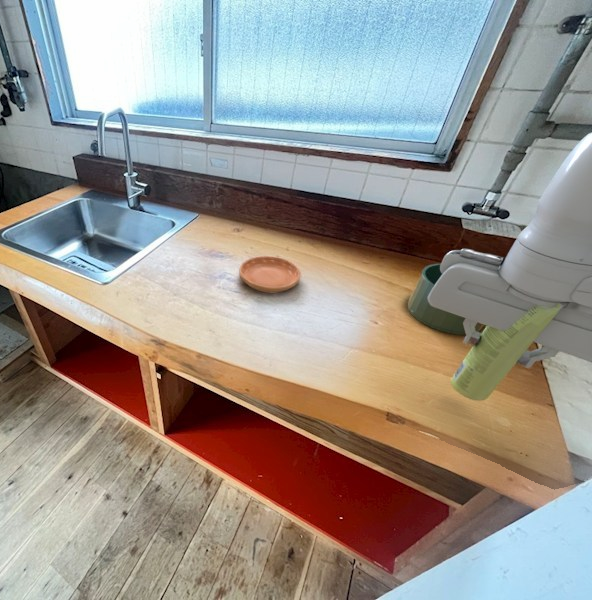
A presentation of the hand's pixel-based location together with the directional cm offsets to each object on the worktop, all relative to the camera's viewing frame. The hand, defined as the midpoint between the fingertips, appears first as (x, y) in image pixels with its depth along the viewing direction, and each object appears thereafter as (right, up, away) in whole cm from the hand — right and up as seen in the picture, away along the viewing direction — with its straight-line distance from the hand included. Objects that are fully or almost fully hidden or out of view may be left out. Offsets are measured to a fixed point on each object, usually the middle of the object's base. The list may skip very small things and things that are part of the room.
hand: (494, 353), depth 46 cm
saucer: (-23, +13, +41) cm, 49 cm away
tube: (0, -7, +5) cm, 8 cm away
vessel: (+13, +5, +27) cm, 30 cm away
